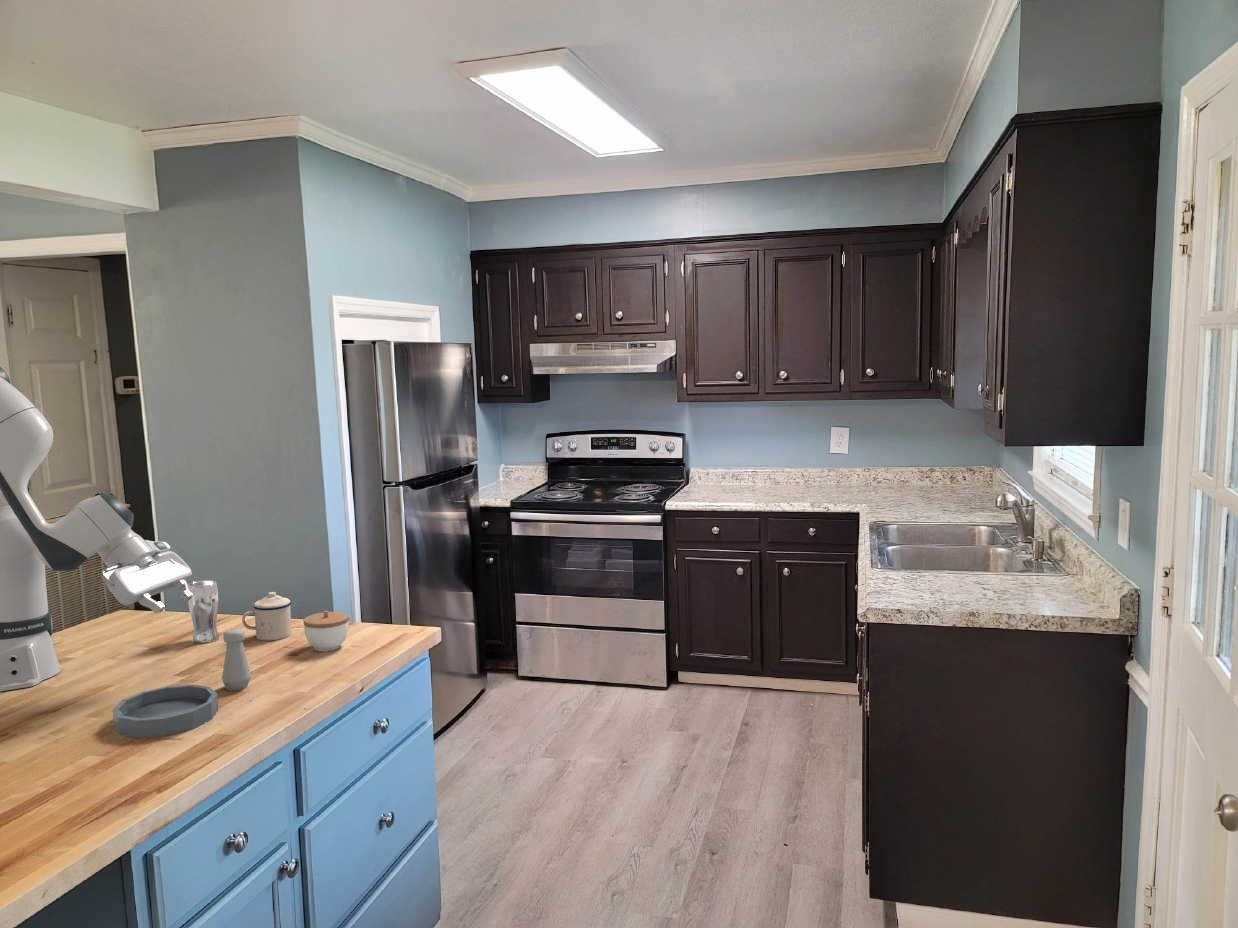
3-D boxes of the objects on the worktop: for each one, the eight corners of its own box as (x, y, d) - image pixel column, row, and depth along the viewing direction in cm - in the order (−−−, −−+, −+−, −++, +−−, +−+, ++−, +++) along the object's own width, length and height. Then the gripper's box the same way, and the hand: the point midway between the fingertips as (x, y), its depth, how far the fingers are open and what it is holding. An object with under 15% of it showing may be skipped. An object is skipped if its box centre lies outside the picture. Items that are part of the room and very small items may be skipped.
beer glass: (208, 644, 217) (205, 587, 216) (184, 643, 219) (181, 586, 217) (226, 636, 224) (223, 580, 222) (203, 634, 225) (199, 579, 224)
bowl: (127, 745, 159) (126, 727, 159) (106, 716, 173) (105, 700, 172) (228, 719, 171) (227, 702, 171) (201, 694, 184) (200, 678, 184)
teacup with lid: (291, 628, 231) (289, 586, 229) (293, 638, 222) (291, 594, 221) (243, 634, 226) (240, 591, 225) (242, 644, 218) (240, 599, 216)
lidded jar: (319, 639, 222) (318, 604, 220) (357, 642, 219) (356, 606, 218) (296, 652, 211) (294, 616, 210) (335, 655, 209) (334, 618, 208)
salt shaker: (228, 682, 191) (225, 626, 190) (254, 682, 192) (251, 625, 190) (218, 692, 185) (215, 634, 184) (245, 691, 186) (242, 633, 184)
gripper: (105, 560, 177) (151, 608, 177) (171, 540, 197) (212, 583, 197) (88, 581, 179) (133, 628, 178) (155, 559, 199) (196, 601, 198)
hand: (175, 604), depth 188 cm, fingers open, 8 cm apart
